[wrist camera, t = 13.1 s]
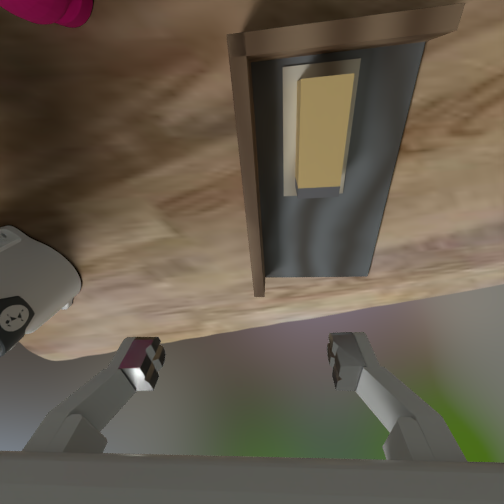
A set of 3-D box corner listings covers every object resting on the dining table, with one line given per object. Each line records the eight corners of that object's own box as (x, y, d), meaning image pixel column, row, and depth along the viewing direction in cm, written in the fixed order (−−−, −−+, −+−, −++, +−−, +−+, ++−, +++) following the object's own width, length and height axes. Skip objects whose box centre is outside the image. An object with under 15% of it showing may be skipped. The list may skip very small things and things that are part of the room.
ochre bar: (297, 81, 24) (301, 78, 20) (342, 76, 24) (354, 73, 20) (295, 186, 30) (297, 198, 26) (330, 184, 30) (338, 196, 26)
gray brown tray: (256, 275, 40) (254, 296, 36) (235, 45, 23) (226, 34, 19) (366, 274, 38) (377, 296, 34) (428, 20, 21) (465, 2, 17)
